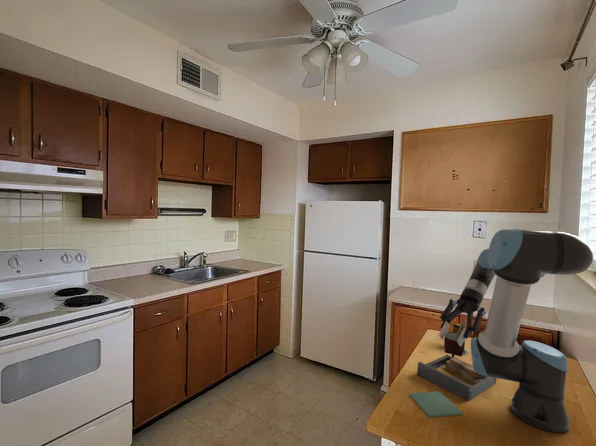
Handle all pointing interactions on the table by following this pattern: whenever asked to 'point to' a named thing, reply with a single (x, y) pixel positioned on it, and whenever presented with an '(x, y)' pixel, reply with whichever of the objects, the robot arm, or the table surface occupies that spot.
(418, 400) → the green mat
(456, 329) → the condiment
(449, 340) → the mate gourd
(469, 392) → the tray
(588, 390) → the table surface
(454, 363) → the offcut stack
